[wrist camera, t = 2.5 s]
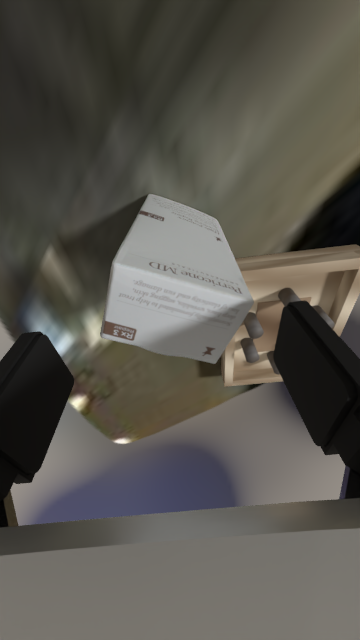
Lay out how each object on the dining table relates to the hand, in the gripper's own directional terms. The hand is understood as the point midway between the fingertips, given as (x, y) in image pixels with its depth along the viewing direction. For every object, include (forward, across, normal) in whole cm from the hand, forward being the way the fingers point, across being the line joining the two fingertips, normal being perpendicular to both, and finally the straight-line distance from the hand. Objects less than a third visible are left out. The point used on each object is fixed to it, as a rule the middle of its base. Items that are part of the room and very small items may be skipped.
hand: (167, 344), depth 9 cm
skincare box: (+13, -1, -1) cm, 13 cm away
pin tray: (+13, -11, +10) cm, 20 cm away
